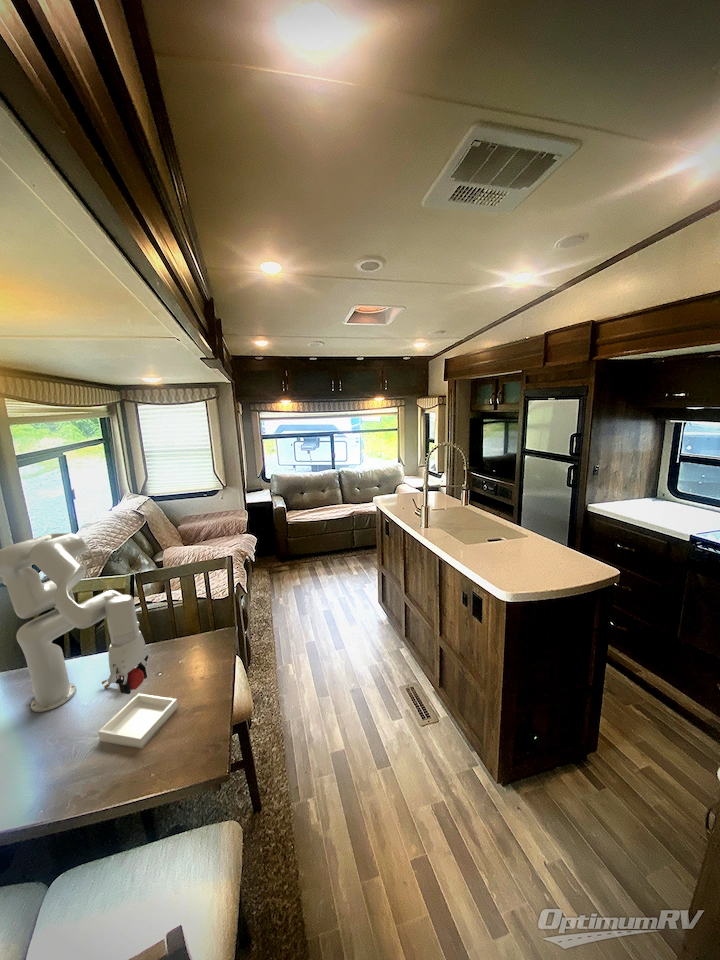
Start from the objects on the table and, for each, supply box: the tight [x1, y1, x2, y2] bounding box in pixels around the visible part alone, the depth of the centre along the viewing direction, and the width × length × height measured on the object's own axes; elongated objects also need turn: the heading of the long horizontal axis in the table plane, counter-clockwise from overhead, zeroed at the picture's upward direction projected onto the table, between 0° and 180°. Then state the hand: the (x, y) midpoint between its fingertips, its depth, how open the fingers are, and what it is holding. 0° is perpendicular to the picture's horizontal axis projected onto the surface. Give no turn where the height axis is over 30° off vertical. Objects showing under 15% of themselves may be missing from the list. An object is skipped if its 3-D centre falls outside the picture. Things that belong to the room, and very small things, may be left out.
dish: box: [98, 693, 179, 750], centre depth 117 cm, size 16×16×4 cm
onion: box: [127, 667, 145, 691], centre depth 114 cm, size 6×6×8 cm
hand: (134, 684), depth 115 cm, fingers closed on onion, 5 cm apart
